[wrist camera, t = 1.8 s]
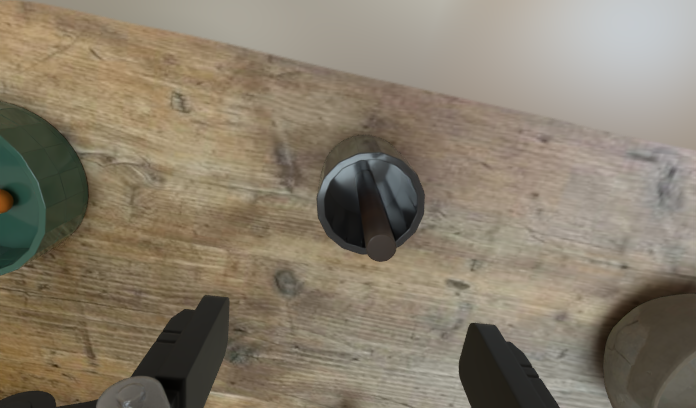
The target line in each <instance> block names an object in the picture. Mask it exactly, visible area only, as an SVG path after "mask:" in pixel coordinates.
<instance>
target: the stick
mask: <svg viewBox="0 0 696 408" xmlns="http://www.w3.org/2000/svg"><path fill="white" fill-rule="evenodd" d="M355 181H356V188H357V194H358V201H359V207H360V214H361V220H362V226H363V233H364V239H365V246H366V252H367V254H368V256H369V257H370V258H371V259H373V260H375V261H379V262H382V261H387V260H389V259H390V258H391V257H392V256H393V255H394V254H395V252H396V242H395V240H394V237H393V234H392V231H391V228H390V225H389V222H388V219H387V216H386V213H385V210H384V207H383V204H382V201H381V198H380V195H379V192H378V189H377V186H376V183H375V180H374V177H373V175H372V173H371V172H369V171H367V170H362V171H360V172H358V173H357V175H356V178H355Z"/></svg>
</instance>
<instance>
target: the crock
mask: <svg viewBox="0 0 696 408" xmlns="http://www.w3.org/2000/svg"><path fill="white" fill-rule="evenodd" d="M362 170H367V171H369V172H371V173H372V175H373V177H374V180H375V183H376V186H377V189H378V192H379V195H380V198H381V201H382V204H383V207H384V210H385V213H386V216H387V219H388V222H389V225H390V228H391V231H392V234H393V237H394V240H395V242H396V248H397V247H399V246H401V245H402V244H403V243H404V242H405V241H406V240H407V239H408V238H410V237H411V236H412V235H413V234H414V233H415V232H416V230H417V228H418V226H419V223H420V221H421V219H422V217H423V215H424V200H425V194H424V190H423V188H422V185H421V183H420V180H419V178H418V175H417V174H416V173H415V171H414V170H413V169H412V167H411V166H410V165H409V164H408V162H407V161H406V160H405V159H404V157H403V156H402V155H401V153H400V152H399V151H398V150H397V149H396V148H395V147H394V146H393V145H391V144H390V143H389V142H387V141H386V140H384V139H382V138H379V137H376V136H372V135H357V136H353V137H350V138H347V139H345V140H343V141H342V142H340V143H339V144H337V145H336V146H335V147H334V148H333V149H332V150H331V152H330V153H329V155H328V156H327V158H326V160H325V162H324V166H323V169H322V172H321V177H320V182H319V188H318V193H317V212H318V219H319V221H320V223H321V225H322V227H323V229H324V230H325V232H326V234H327V236H328V237H330V238H331V239H332V240H333V241H334V242H336V243H337V244H338V245H339V246H340V247H341V248H343V249H346V250H349V251H352V252H355V253H358V254H367V252H366V246H365V239H364V233H363V226H362V220H361V214H360V207H359V201H358V194H357V188H356V181H355V178H356V175H357V173H358V172H360V171H362Z"/></svg>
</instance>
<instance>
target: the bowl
mask: <svg viewBox="0 0 696 408" xmlns="http://www.w3.org/2000/svg"><path fill="white" fill-rule="evenodd" d="M603 372H604V382H605V388H606V391H607V394H608V398H609V400H610V403H611V405H612V407H613V408H696V293H694V294H680V295H672V296H666V297H661V298H657V299H653V300H650V301H648V302H645V303H643V304H641V305H639V306H637V307H636V308H634V309H633V310H632V311H630V312H629V313H628V314H627V315H625V316H624V317H623V318H622V319H621V320H620V321H619V322H618V323H617V324H616V325H615V326H614V327H613V329H612V330H611V332H610V334H609V336H608V339H607V342H606V346H605V352H604V361H603Z"/></svg>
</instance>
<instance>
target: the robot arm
mask: <svg viewBox="0 0 696 408" xmlns="http://www.w3.org/2000/svg"><path fill="white" fill-rule="evenodd" d="M228 326H229V298H228V297H220V296H210V295H205V296H204V297H203V298H202V300H201V301H200V303H199V305H198V306H197V308H196V309H195V310H189V309H184V310H183V311H181V312H180V313H178V314H177V315H175V316H174V317H172V318H171V319H170V321H169V322H168V324H167V325H166V327H165V328H164V329H163V332H161V334H160V335H159V337H158V338H157V341H156V342H155V343H154V344H153V345H152V347H151V348H150V350H149V351H148V353H147V354H146V356H145V357H144V358H143V360H142V361H141V363H140V364H139V366H138V367H137V369H136V370H135V371H134V373H133V374H132V376H131V377H130V378H126V379H123V380H121V381H119V382H117V383H115V384H113V385H112V386H110V387H109V388H108V389H106V390H105V391H104V392H103V393H102V394H101V396H100V397H99V399H97V400H94V401H89V402H84V403H78V404H72V405H66V406H60V407H56V402H55V399H54V397H53V396H52V395H51V394H49V393H47V392H43V391H28V392H22V393H18V394H15V395H12V396H9V397H7V398H4V399H2V400H0V408H203V407H204V405H205V403H206V400H207V398H208V395H209V393H210V390H211V388H212V385H213V383H214V380H215V378H216V376H217V373H218V371H219V368H220V366H221V363H222V361H223V358H224V356H225V352H226V348H227V342H228ZM459 376H460V380H461V383H462V385H463V388H464V390H465V393H466V395H467V398H468V400H469V403H470V405H471V408H560V407H559V406H558V404H557V403H556V401H555V400H554V398H553V397H552V395H551V394H550V392H549V391H548V389H547V388H546V386H545V385H544V383H543V382H542V380H541V379H539V376H538V374H537V373H536V371H535V369H534V368H532V365H531V363H530V362H529V360H528V359H527V357H526V356H525V354H524V353H523V352H522V351H520V350H519V349H518V348H517V347H516V346H515V345H514V344H512V343H511V342H506V341H505V339H504V338H503V336H502V335H501V333H500V331H499V330H498V328H497V327H496V326H495V325H490V324H480V323H471V324H470V325H469V327H468V331H467V334H466V338H465V342H464V345H463V349H462V353H461V356H460V360H459Z"/></svg>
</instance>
